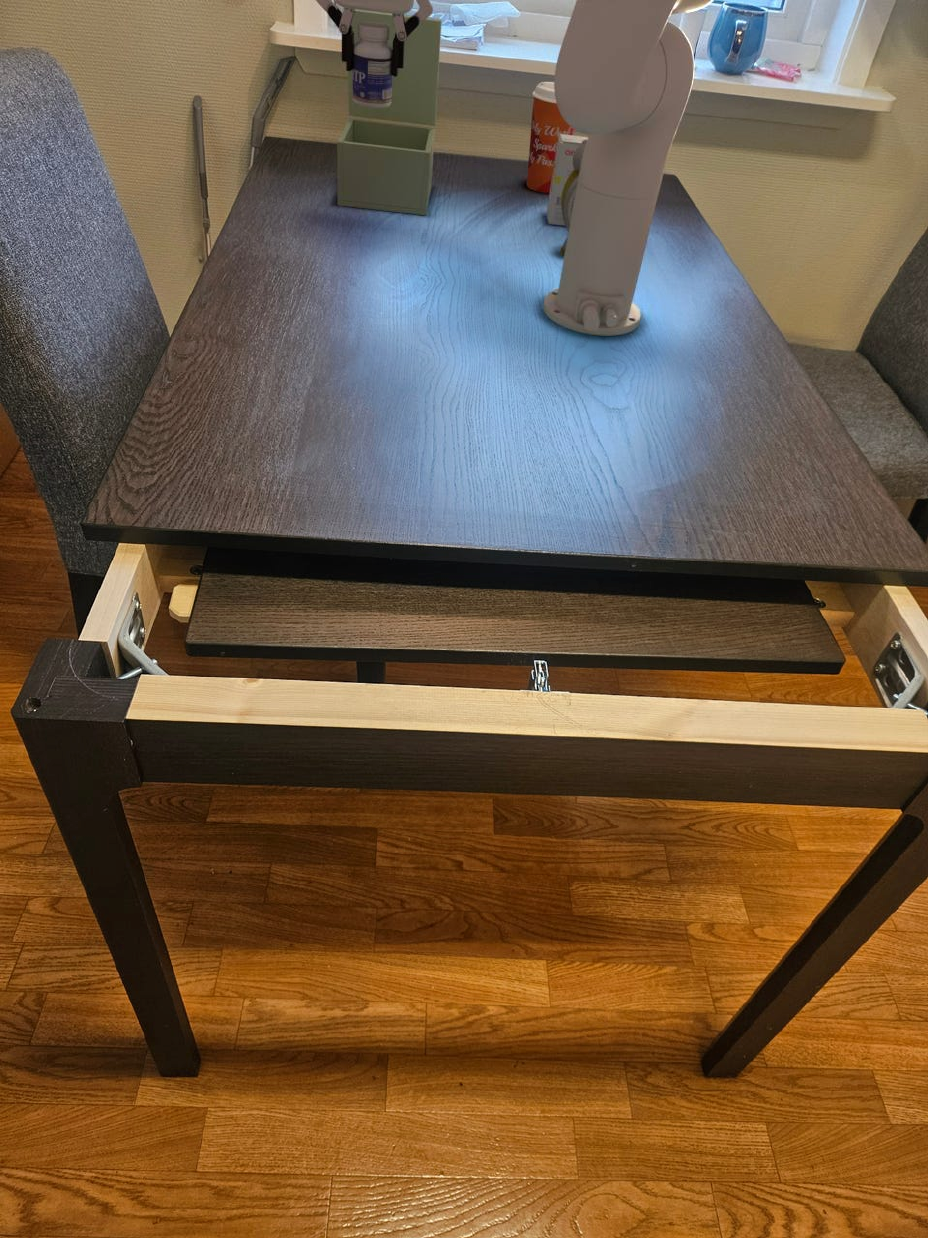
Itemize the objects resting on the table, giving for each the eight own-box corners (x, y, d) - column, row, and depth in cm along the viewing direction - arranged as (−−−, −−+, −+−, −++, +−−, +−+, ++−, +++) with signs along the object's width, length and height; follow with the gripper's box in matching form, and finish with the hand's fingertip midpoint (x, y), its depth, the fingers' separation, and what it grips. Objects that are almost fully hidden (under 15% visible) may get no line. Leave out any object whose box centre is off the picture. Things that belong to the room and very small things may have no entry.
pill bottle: (346, 98, 115) (347, 19, 109) (382, 97, 117) (384, 20, 111) (360, 108, 112) (361, 28, 106) (397, 108, 114) (400, 29, 108)
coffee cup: (514, 188, 144) (528, 87, 133) (526, 176, 149) (540, 77, 139) (562, 198, 142) (580, 96, 132) (572, 185, 148) (589, 86, 138)
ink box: (598, 219, 137) (614, 137, 128) (601, 230, 133) (618, 147, 125) (545, 213, 136) (558, 131, 128) (547, 224, 132) (560, 140, 124)
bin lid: (441, 21, 121) (443, 5, 125) (346, 9, 121) (351, -7, 124) (435, 125, 133) (437, 108, 137) (348, 115, 133) (353, 98, 136)
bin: (426, 215, 130) (430, 152, 124) (337, 205, 129) (337, 141, 123) (431, 187, 140) (435, 127, 134) (348, 177, 139) (349, 117, 133)
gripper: (298, -117, 96) (303, 70, 109) (448, -97, 97) (436, 85, 110) (308, -120, 102) (311, 58, 114) (449, -101, 103) (438, 73, 115)
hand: (372, 69), depth 112 cm, fingers closed on pill bottle, 5 cm apart
